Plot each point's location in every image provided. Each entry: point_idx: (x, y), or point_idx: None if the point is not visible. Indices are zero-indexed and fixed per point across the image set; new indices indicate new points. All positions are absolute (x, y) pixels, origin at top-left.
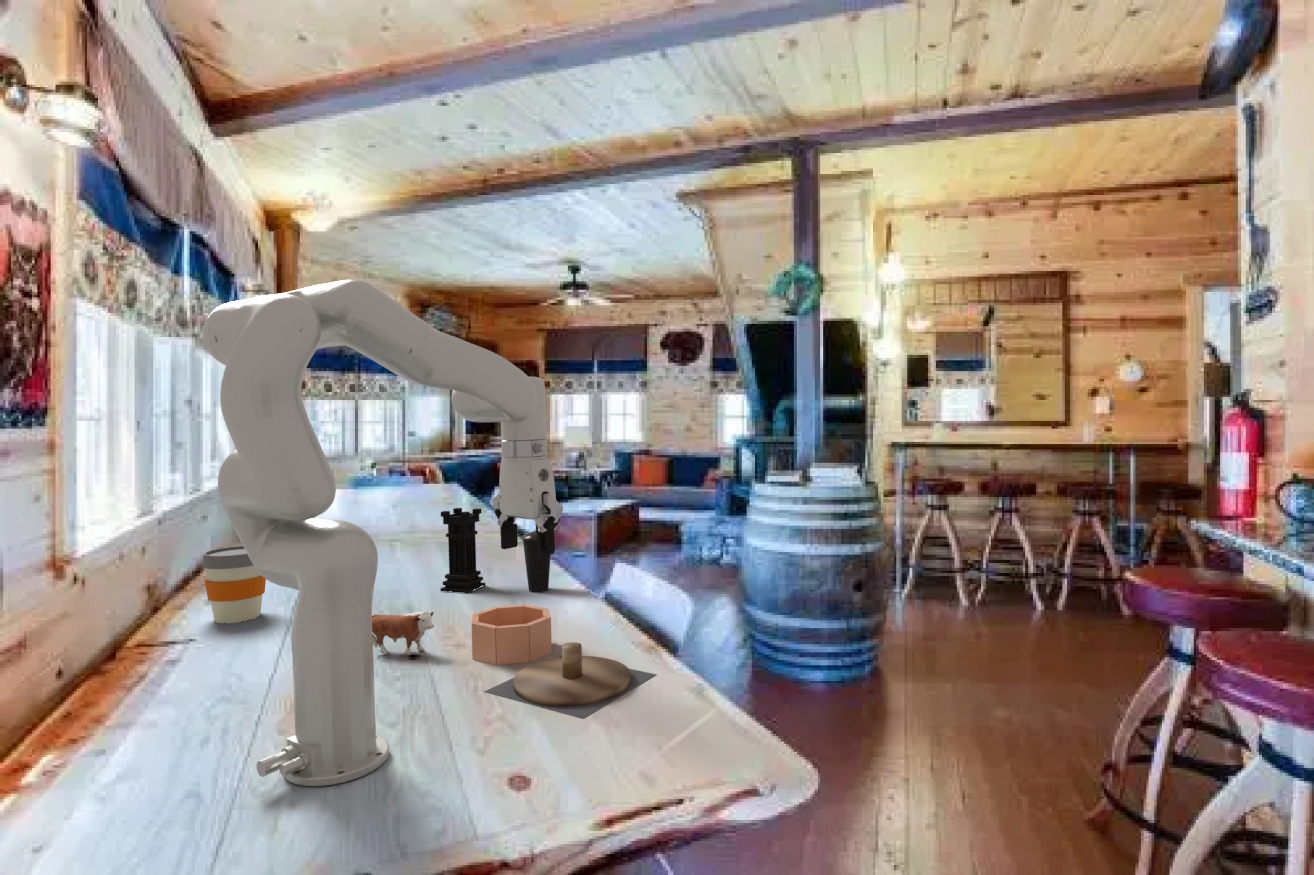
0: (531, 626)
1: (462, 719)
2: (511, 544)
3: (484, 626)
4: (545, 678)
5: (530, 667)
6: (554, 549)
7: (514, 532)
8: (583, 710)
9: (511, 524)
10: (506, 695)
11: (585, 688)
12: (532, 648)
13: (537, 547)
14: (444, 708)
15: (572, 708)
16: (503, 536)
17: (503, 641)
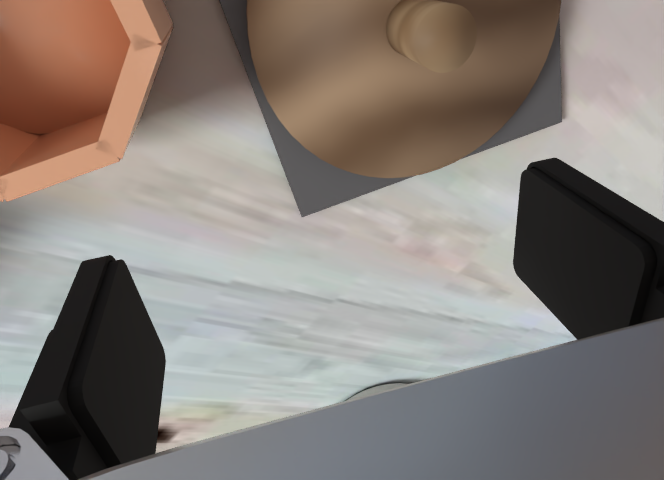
0: (156, 29)
1: (378, 280)
2: (140, 319)
3: (69, 178)
4: (375, 96)
5: (277, 86)
6: (564, 165)
7: (113, 363)
8: (538, 100)
9: (88, 456)
10: (355, 189)
11: (501, 54)
12: (163, 17)
13: (542, 301)
14: (311, 291)
15: (514, 113)
16: (151, 431)
17: (137, 120)
